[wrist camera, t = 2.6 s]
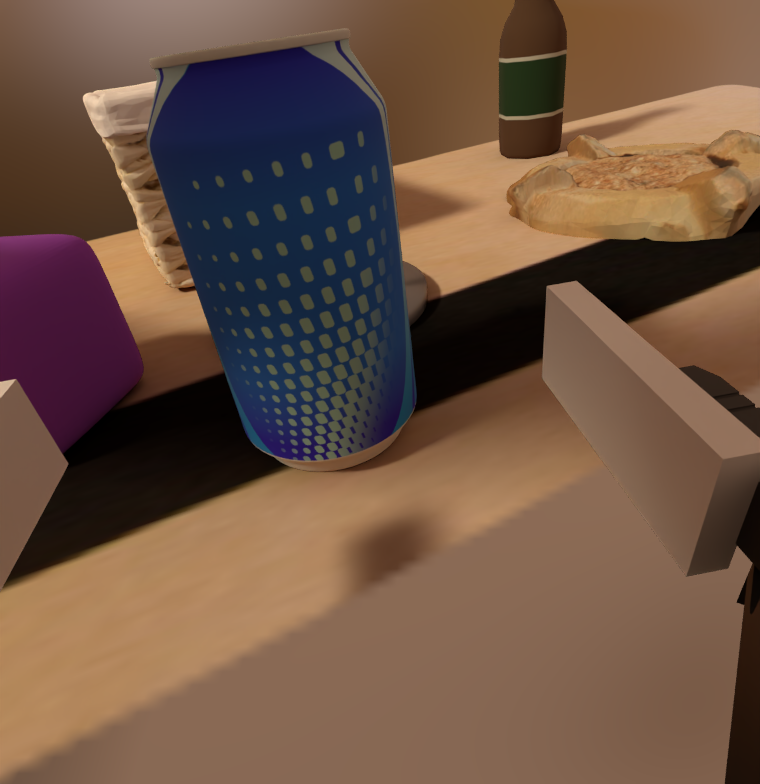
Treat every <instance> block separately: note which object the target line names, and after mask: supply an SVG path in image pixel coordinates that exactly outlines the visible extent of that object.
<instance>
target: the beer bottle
mask: <svg viewBox="0 0 760 784" xmlns="http://www.w3.org/2000/svg"><path fill="white" fill-rule="evenodd" d="M566 32H567V31H566V28H565V23H564V20H563V16H562V14H561V12H560V10H559V9H558V7H557V5H556V3H555V1H554V0H515V4H514V8H513V9H512V11H511V13H510V16H509V17H508V19H507V21H506V23H505V26H504V29H503V33H502V36H501V39H500V53H499V143H500V152H501V154H502V155H503V156H505V157H507V158H521V159H529V158H535V157H541V156H547V155H550V154H552V153H554V152H556V151H558V150H559V148H560V142H561V134H562V118H563V101H564V86H565V69H566V52H567V37H566V36H567V34H566Z"/></svg>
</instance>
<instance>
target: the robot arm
mask: <svg viewBox="0 0 760 784" xmlns="http://www.w3.org/2000/svg"><path fill="white" fill-rule="evenodd" d="M542 379H543V380H544V382H545V383H546V384H547V386H548V387H549V389H550V390H551V391H552V393H553V394H554V395H555V397H556V398H557V400H558V401H559V402H560V404H561V405H562V406H563V408H564V409H565V411H566V412H567V413H568V415H569V416H570V417H571V419H572V420H573V422H574V423H575V424H576V426H577V427H578V428H579V430H580V431H581V433H582V434H583V435H584V437H585V438H586V439H587V441H588V442H589V444H590V445H591V446H592V448H593V449H594V450H595V452H596V453H597V455H598V456H599V457H600V459H601V460H602V461H603V463H604V464H605V466H606V467H607V468H608V470H609V471H610V472H611V474H612V475H613V477H614V478H615V479H616V480H617V482H618V483H619V485H620V486H621V488H622V489H623V490H624V492H625V493H626V494H627V496H628V497H629V499H630V500H631V501H632V503H633V504H634V505H635V507H636V508H637V510H638V511H639V512H640V514H641V515H642V516H643V518H644V519H645V521H646V522H647V523H648V525H649V526H650V527H651V529H652V530H653V532H654V533H655V534H656V536H657V537H658V538H659V540H660V541H661V543H662V544H663V545H664V547H665V548H666V549H667V551H668V552H669V554H670V555H671V556H672V558H673V559H674V560H675V562H676V563H677V564H678V566H679V567H680V569H681V570H682V571H683V573H684V574H685V576H686V577H687V576H692V575H697V574H702V573H707V572H712V571H717V570H722V569H727V568H728V567H729V565H730V562H731V559H732V557H733V554H734V552H735V549H736V546H738V547H739V548H740V549H741V550H742V551H743V552H744V553H745V555H746V556H747V557H748V558H749V559H750V561H751V562H752V563H753V564H752V566H751V569H750V571H749V573H748V576H747V578H746V581H745V583H744V585H743V588H742V590H741V593H740V595H739V598H738V600H737V603H740V604H743V605H744V613H743V622H742V632H741V641H740V650H739V658H738V668H737V677H736V686H735V695H734V704H733V714H732V722H731V732H730V740H729V749H728V759H727V767H726V778H725V784H760V408H755V404H754V403H752V402H751V401H750V400H749V399H747V398H746V397H745V396H744V395H739V391H737V390H736V389H735V388H734V387H732V386H731V385H730V384H729V383H727V382H726V381H725V380H724V379H722V378H721V377H719V376H717V375H715V374H713V373H710V372H708V371H706V370H703V369H701V368H699V367H696V366H694V365H693V366H688V367H683V368H677V367H676V366H675V365H674V364H673V363H672V362H670V361H669V360H668V359H667V358H666V357H665V356H663V355H662V354H661V353H660V352H659V351H658V350H656V349H655V348H654V347H653V346H652V345H651V344H649V343H648V342H647V341H646V340H645V339H644V338H642V337H641V336H640V335H639V334H638V333H637V332H635V331H634V330H633V329H632V328H631V327H630V326H628V325H627V324H626V323H625V322H624V321H623V320H621V319H620V318H619V317H618V316H617V315H616V314H614V313H613V312H612V311H611V310H610V309H609V308H607V307H606V306H605V305H604V304H603V303H602V302H600V301H599V300H598V299H597V298H596V297H595V296H593V295H592V294H591V293H590V292H589V291H588V290H586V289H585V288H584V287H583V286H582V285H581V284H579V283H578V282H577V281H573V282H568V283H562V284H556V285H551V286H547V291H546V310H545V329H544V348H543V367H542ZM67 466H68V462H67V461H66V459H65V458H64V456H63V454H62V453H61V451H60V449H59V448H58V446H57V444H56V443H55V441H54V440H53V438H52V436H51V435H50V433H49V431H48V430H47V428H46V427H45V425H44V423H43V422H42V420H41V418H40V417H39V415H38V413H37V412H36V410H35V409H34V407H33V405H32V404H31V402H30V400H29V399H28V397H27V395H26V394H25V392H24V391H23V389H22V387H21V386H20V384H19V382H18V381H17V379H14V380H8V381H2V382H0V591H1V589H2V587H3V585H4V583H5V581H6V579H7V578H8V576H9V574H10V572H11V570H12V568H13V566H14V565H15V563H16V561H17V559H18V557H19V555H20V553H21V552H22V550H23V548H24V546H25V544H26V542H27V540H28V539H29V537H30V535H31V533H32V531H33V529H34V527H35V526H36V524H37V522H38V520H39V518H40V516H41V514H42V513H43V511H44V509H45V507H46V505H47V503H48V501H49V499H50V498H51V496H52V494H53V492H54V490H55V488H56V486H57V485H58V483H59V481H60V479H61V477H62V475H63V473H64V472H65V470H66V468H67Z"/></svg>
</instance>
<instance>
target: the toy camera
mask: <svg viewBox="0 0 760 784" xmlns="http://www.w3.org/2000/svg"><path fill="white" fill-rule="evenodd" d="M143 370H144V367H143V362H142V358H141V355H140V353H139V350H138V348H137V345H136V343H135V340H134V338H133V336H132V333H131V331H130V329H129V327H128V324H127V322H126V320H125V318H124V315H123V313H122V311H121V309H120V306H119V304H118V302H117V300H116V297H115V295H114V293H113V290H112V288H111V286H110V284H109V281H108V279H107V277H106V275H105V273H104V271H103V268H102V266H101V264H100V262H99V260H98V258H97V256H96V255H95V253H94V251H93V250H92V248H91V247H90V246H89V245H88V244H87V242H86V241H84V240H83V239H81V238H79V237H76V236H71V235H61V234H45V235H26V236H9V237H8V236H7V237H0V382H2V381H8V380H14V379H17V381H18V382H19V384H20V386H21V387H22V389H23V391H24V392H25V394H26V395H27V397H28V399H29V400H30V402H31V404H32V405H33V407H34V409H35V410H36V412H37V413H38V415H39V417H40V418H41V420H42V422H43V423H44V425H45V427H46V428H47V430H48V431H49V433H50V435H51V436H52V438H53V440H54V441H55V443H56V444H57V446H58V448H59V449H60V451H61V453H62V454H63V453H64V452H66V451H67V450H68V449H69V448H70V447H71V446H72V445H74V444H75V443H76V442H77V441H78V440H79V439H80V438H81V437H82V436H83V435H84V434H85V433H86V432H87V431H88V430H90V429H91V428H92V427H93V426H94V425H95V424H96V423H97V422H98V421H99V420H100V419H101V418H102V417H103V416H104V415H105V414H106V413H108V412H109V411H110V410H111V409H112V408H113V407H114V406H115V405H116V404H117V403H118V402H119V401H120V400H121V399H122V398H123V397H124V396H125V395H126V394H127V393H128V392H129V391H130V390H131V389H132V388H133V387H134V386H135V385H136V384H137V383H138V382H139V380H140V379H141V377H142V375H143Z"/></svg>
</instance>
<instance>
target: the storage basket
mask: <svg viewBox="0 0 760 784" xmlns="http://www.w3.org/2000/svg"><path fill="white" fill-rule="evenodd" d="M156 83H157V81H153V82H148V83H143V84H138V85H133V86H128V87H121V88H113V89H107V90H97V91H94V92H93V93H87V94H85V95H84V97H83V101H84V104H85V107H86V109H87V111H88V114H89V116H90V119H91V121H92V124H93V126H94V127H95V129H96V131H97V132H98V133H99V134H100V135H101V137H102V139H103V143H104V144H105V145H106V148H107V150H108V151H109V153H110V154H111V157H112V159H113V161H114V162H115V164H116V165H115V166H116V170H117V174H118V176H119V178H120V179H121V181H122V183H121V185H122V187H123V190H125V191H126V194H127V196H128V199H129V201H130V203H131V205H132V206H133V210H134V213H135V215H136V217H137V220H138V222H137V225H138V228H139V230H140V235H141V237H142V239H143V243H144V246H145V248H146V250H147V252H148V254H149V255H150V257H151V259H152V260H153V261H154V264H155V266H156V267H157V268H158V270H159V272H160V274H161V275H162V276H163V277H164V278H165V279H166V281H168V282H165V284H166V285H169V286H170V287H173V288H181V287H184V288H185V287H191V286H195V285H194V282H193V279H192V276H191V273H190V270H189V267H188V264H187V262H186V259H185V256H184V253H183V250H182V247H181V244H180V241H179V238H178V235H177V233H176V230H175V227H174V224H173V221H172V218H171V215H170V212H169V209H168V206H167V204H166V201H165V198H164V195H163V192H162V189H161V186H160V183H159V180H158V177H157V175H156V172H155V169H154V166H153V163H152V160H151V157H150V154H149V151H148V147H147V143H146V135H147V130H148V125H149V119H150V114H151V109H152V104H153V99H154V93H155V88H156Z"/></svg>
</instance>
